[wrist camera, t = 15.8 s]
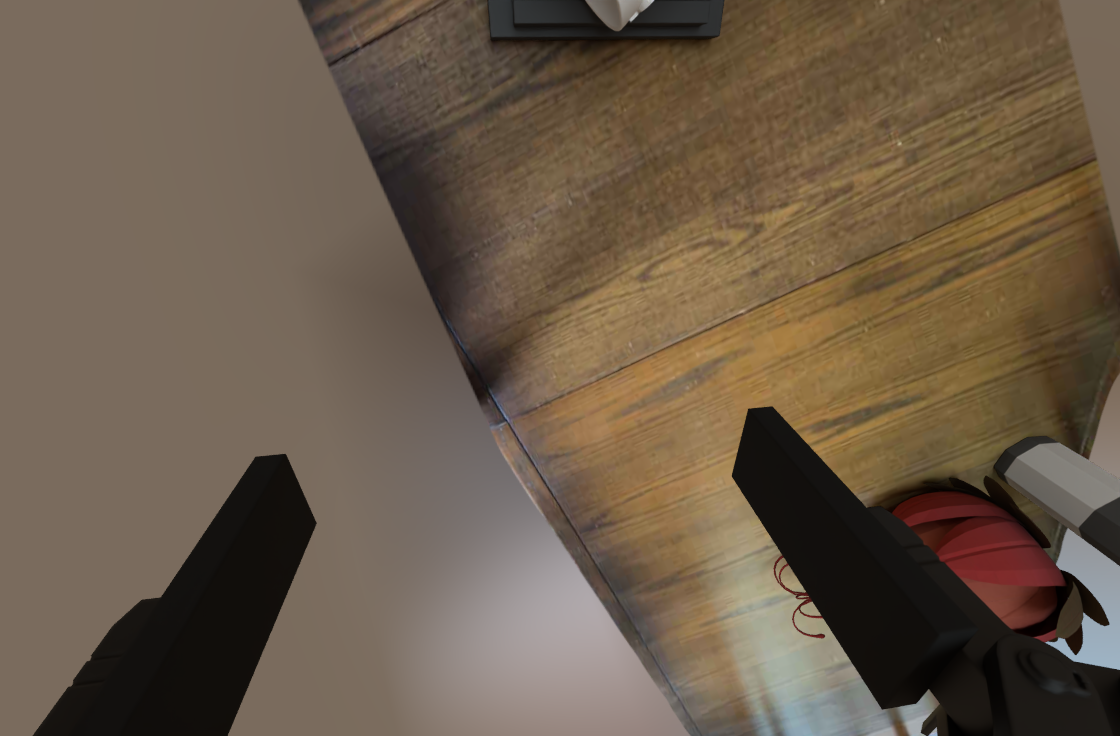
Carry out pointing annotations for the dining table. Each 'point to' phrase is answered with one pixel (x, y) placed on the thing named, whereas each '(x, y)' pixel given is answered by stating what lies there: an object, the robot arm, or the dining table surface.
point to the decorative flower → (997, 560)
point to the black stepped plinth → (563, 14)
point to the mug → (618, 11)
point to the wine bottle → (1067, 489)
